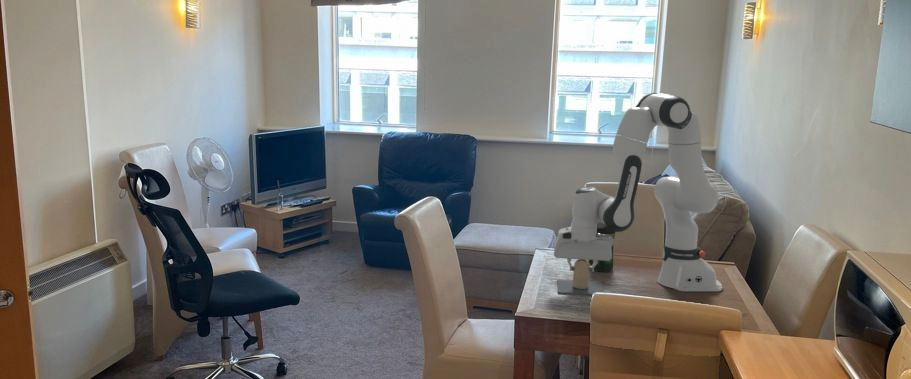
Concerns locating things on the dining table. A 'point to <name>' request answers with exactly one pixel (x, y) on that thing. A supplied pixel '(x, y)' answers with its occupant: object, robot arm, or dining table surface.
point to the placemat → (568, 288)
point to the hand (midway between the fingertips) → (581, 270)
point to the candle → (581, 274)
